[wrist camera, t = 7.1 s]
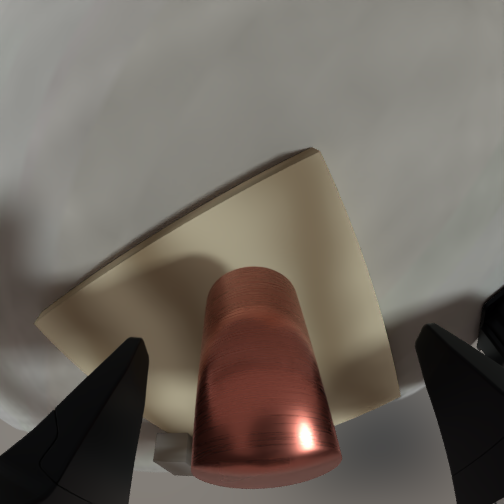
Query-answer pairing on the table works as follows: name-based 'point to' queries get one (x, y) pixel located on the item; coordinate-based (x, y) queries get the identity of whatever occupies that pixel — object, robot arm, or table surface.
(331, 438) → the lever
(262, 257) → the board
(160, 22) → the table surface
